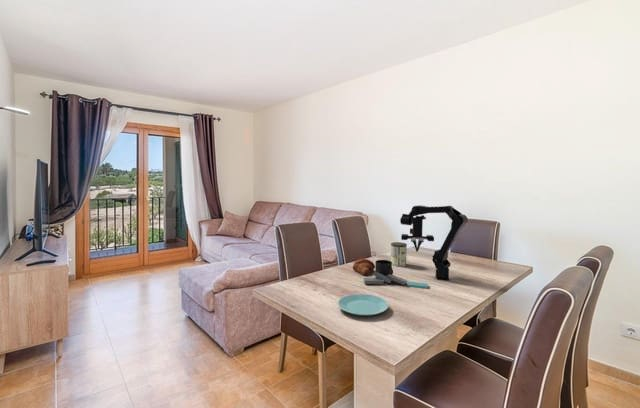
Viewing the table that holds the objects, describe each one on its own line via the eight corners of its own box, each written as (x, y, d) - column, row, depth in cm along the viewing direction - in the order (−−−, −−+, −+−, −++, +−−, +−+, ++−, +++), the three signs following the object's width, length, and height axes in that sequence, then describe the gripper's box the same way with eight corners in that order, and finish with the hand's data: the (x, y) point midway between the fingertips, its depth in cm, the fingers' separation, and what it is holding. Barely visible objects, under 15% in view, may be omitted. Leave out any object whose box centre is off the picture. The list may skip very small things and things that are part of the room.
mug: (386, 281, 171) (387, 265, 170) (371, 276, 181) (372, 261, 180) (398, 278, 176) (398, 263, 175) (383, 273, 186) (383, 258, 185)
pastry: (344, 270, 194) (344, 257, 193) (361, 266, 203) (361, 254, 203) (364, 276, 181) (364, 263, 180) (381, 271, 190) (381, 259, 190)
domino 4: (407, 281, 167) (390, 273, 172) (404, 282, 163) (387, 275, 168) (406, 283, 167) (389, 276, 173) (404, 285, 163) (386, 277, 168)
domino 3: (387, 281, 170) (369, 279, 173) (387, 284, 165) (368, 282, 168) (387, 284, 170) (369, 282, 173) (387, 287, 165) (368, 285, 168)
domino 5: (427, 283, 164) (408, 281, 168) (427, 286, 160) (407, 284, 163) (427, 286, 164) (408, 284, 168) (427, 289, 160) (407, 287, 163)
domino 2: (393, 280, 169) (377, 272, 174) (390, 280, 165) (374, 272, 170) (392, 282, 169) (376, 274, 174) (389, 283, 165) (373, 275, 170)
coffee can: (395, 261, 214) (395, 241, 213) (409, 264, 207) (409, 243, 206) (387, 264, 206) (387, 243, 205) (401, 267, 199) (401, 246, 198)
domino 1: (381, 278, 170) (363, 278, 170) (383, 280, 165) (364, 280, 165) (381, 281, 171) (363, 281, 170) (383, 283, 166) (364, 283, 165)
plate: (353, 324, 120) (353, 317, 120) (329, 303, 141) (329, 297, 140) (399, 314, 129) (399, 308, 129) (370, 296, 150) (370, 290, 149)
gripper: (432, 224, 191) (432, 249, 192) (401, 223, 196) (401, 247, 197) (434, 227, 181) (433, 253, 182) (401, 226, 185) (401, 251, 187)
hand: (417, 251), depth 187 cm, fingers closed
